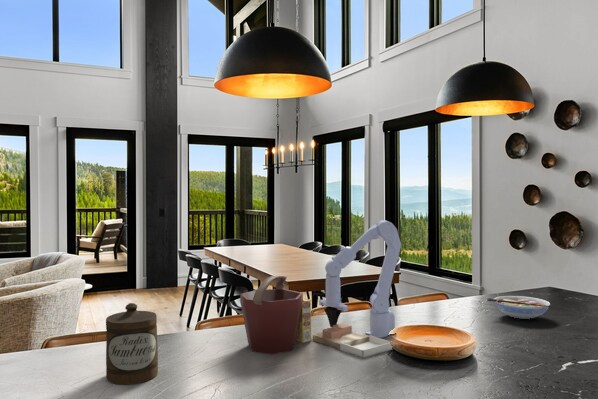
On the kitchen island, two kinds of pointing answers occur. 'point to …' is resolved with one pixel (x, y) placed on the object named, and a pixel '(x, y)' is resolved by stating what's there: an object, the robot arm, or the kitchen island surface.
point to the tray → (367, 347)
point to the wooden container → (131, 346)
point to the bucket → (271, 316)
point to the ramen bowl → (521, 306)
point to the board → (341, 339)
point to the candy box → (304, 322)
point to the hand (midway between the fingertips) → (333, 326)
